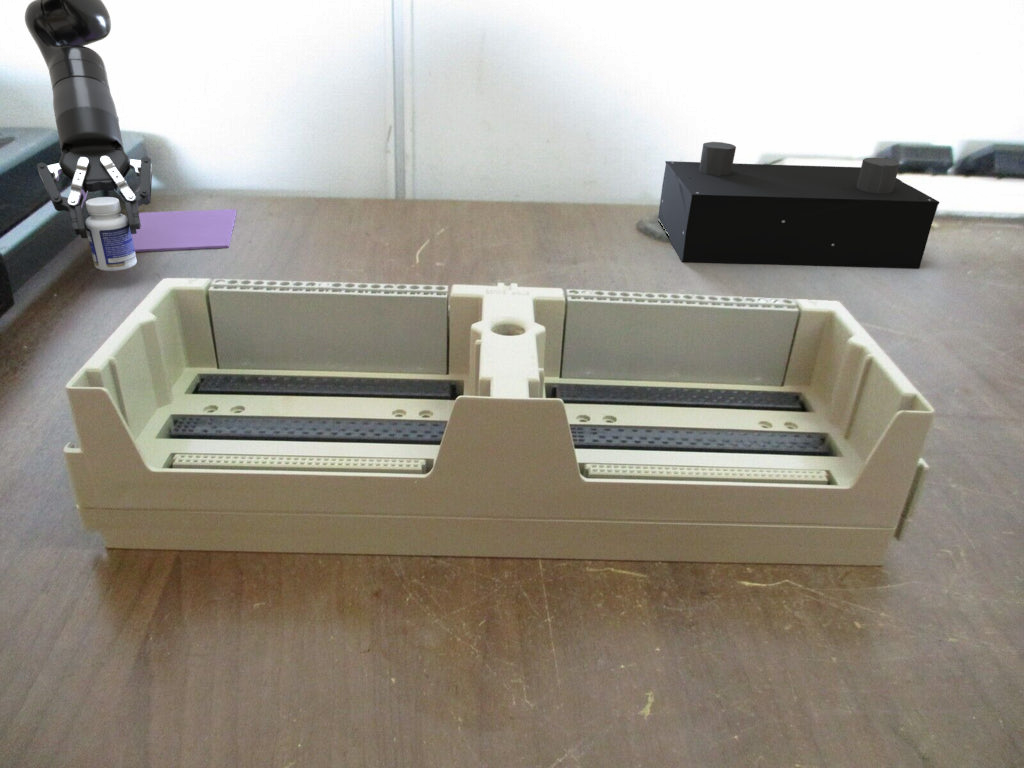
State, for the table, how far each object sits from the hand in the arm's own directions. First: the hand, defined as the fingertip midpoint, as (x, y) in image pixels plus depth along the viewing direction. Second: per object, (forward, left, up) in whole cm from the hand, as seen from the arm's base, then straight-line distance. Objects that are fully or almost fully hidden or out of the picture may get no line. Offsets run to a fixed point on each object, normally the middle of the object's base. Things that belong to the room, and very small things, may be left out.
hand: (108, 232), depth 100 cm
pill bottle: (-1, +2, -5) cm, 6 cm away
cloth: (+5, +25, -8) cm, 26 cm away
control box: (+103, +5, -8) cm, 103 cm away
